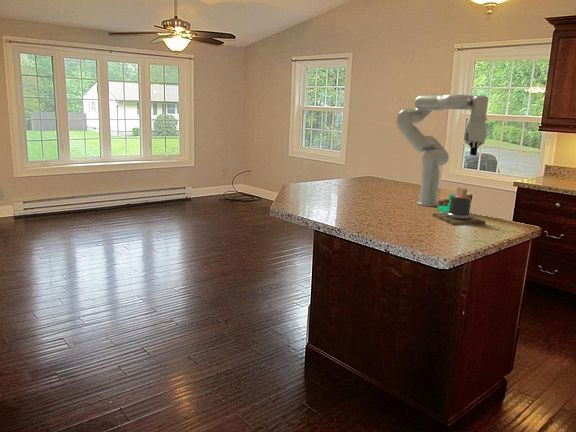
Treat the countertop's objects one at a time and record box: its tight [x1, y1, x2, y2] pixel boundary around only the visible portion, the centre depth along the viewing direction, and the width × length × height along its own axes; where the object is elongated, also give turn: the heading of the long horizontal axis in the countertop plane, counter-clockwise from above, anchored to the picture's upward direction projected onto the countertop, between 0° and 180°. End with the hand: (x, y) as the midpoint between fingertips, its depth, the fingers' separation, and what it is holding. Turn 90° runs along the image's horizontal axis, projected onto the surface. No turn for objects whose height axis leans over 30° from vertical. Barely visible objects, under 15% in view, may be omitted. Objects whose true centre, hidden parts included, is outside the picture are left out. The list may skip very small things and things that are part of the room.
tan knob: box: [454, 186, 469, 199], centre depth 242 cm, size 6×6×9 cm
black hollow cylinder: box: [446, 196, 473, 220], centre depth 243 cm, size 12×12×10 cm
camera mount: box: [436, 193, 457, 213], centre depth 261 cm, size 12×8×10 cm, turn 11°
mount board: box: [432, 212, 486, 226], centre depth 245 cm, size 18×18×2 cm
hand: (473, 155), depth 258 cm, fingers closed
